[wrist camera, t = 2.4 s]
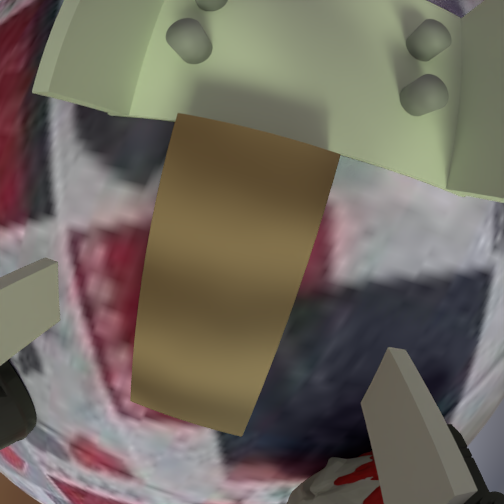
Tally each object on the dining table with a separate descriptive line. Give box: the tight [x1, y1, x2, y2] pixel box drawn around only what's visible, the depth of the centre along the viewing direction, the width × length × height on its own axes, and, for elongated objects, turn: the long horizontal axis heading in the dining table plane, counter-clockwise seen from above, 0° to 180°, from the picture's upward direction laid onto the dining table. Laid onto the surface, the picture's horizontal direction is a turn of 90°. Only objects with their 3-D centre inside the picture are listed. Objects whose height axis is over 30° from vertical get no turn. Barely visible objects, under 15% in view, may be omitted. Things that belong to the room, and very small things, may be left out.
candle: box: [287, 451, 384, 504], centre depth 16 cm, size 9×11×15 cm
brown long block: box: [131, 113, 341, 436], centre depth 16 cm, size 16×7×4 cm, turn 165°
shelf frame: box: [32, 0, 504, 203], centre depth 10 cm, size 21×12×8 cm, turn 78°
